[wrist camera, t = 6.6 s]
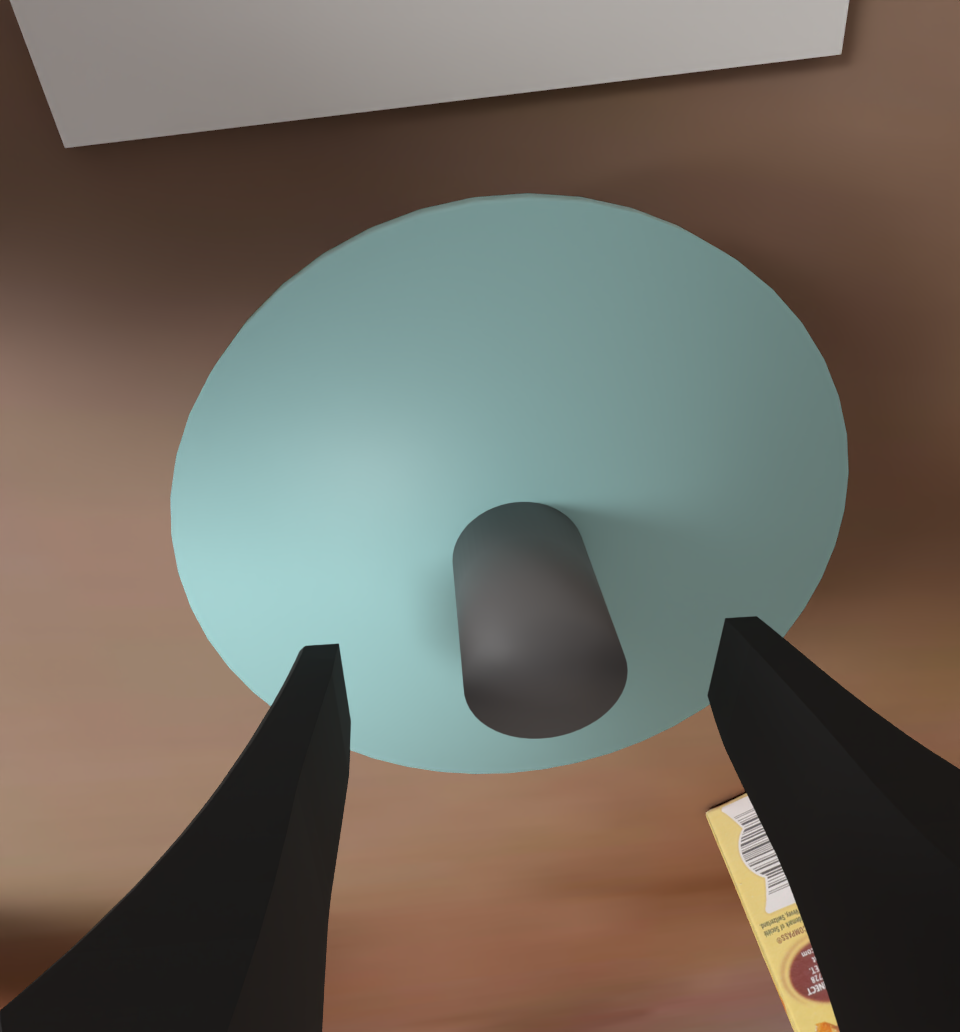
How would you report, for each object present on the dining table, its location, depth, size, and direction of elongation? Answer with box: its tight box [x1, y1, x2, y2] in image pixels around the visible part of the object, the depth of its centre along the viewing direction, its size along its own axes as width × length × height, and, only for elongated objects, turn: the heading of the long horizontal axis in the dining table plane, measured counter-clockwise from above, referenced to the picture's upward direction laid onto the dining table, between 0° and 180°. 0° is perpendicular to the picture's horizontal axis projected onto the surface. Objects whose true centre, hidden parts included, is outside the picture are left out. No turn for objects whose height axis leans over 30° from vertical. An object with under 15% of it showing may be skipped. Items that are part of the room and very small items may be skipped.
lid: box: [171, 193, 849, 774], centre depth 14 cm, size 14×14×4 cm
